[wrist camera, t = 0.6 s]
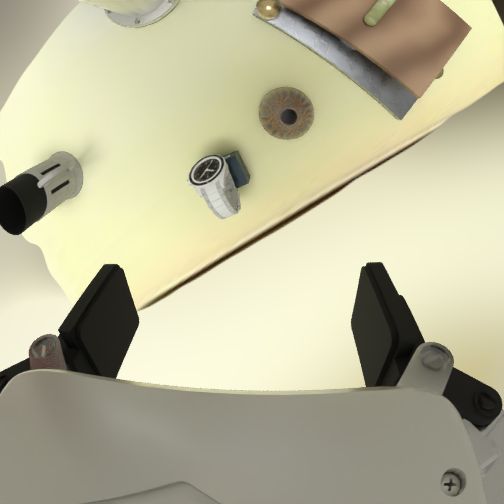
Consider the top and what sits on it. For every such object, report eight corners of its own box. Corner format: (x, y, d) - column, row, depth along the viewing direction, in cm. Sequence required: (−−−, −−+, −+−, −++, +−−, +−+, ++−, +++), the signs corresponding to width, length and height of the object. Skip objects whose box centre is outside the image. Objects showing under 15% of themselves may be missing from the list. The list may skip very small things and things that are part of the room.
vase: (318, 123, 40) (329, 132, 32) (273, 142, 42) (274, 156, 34) (296, 79, 37) (303, 77, 29) (251, 100, 39) (246, 103, 31)
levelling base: (253, 14, 32) (250, 5, 27) (326, -66, 24) (333, -81, 19) (397, 119, 38) (412, 124, 33) (458, 38, 30) (477, 36, 25)
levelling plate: (282, 5, 29) (278, -4, 26) (339, -57, 22) (339, -69, 19) (416, 98, 30) (424, 96, 27) (466, 30, 23) (477, 25, 21)
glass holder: (38, 167, 44) (-17, 199, 31) (90, 125, 41) (30, 147, 28) (60, 206, 48) (11, 247, 35) (114, 170, 44) (62, 207, 32)
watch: (231, 138, 42) (219, 155, 32) (255, 186, 45) (251, 217, 36) (196, 154, 43) (175, 176, 33) (221, 201, 46) (208, 234, 37)
